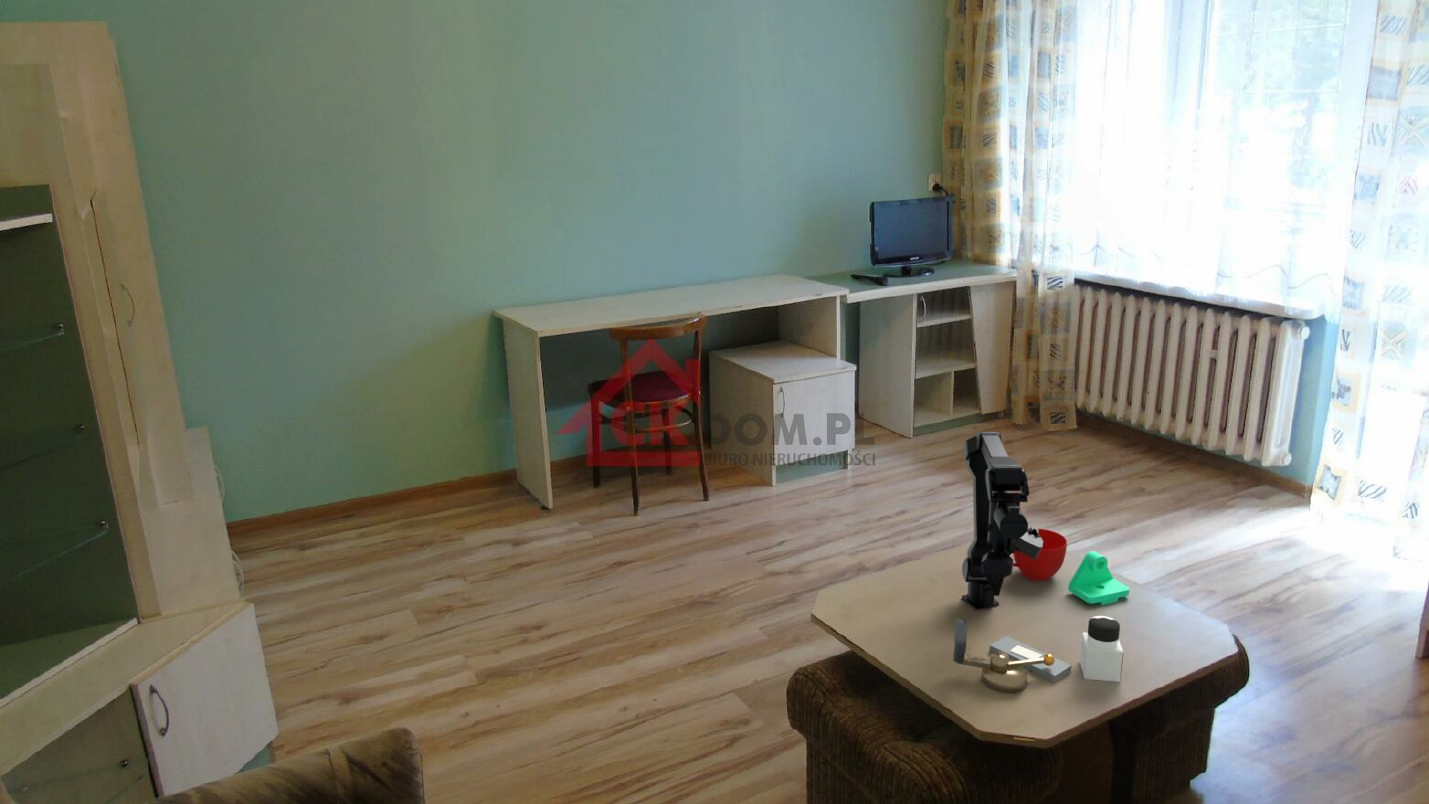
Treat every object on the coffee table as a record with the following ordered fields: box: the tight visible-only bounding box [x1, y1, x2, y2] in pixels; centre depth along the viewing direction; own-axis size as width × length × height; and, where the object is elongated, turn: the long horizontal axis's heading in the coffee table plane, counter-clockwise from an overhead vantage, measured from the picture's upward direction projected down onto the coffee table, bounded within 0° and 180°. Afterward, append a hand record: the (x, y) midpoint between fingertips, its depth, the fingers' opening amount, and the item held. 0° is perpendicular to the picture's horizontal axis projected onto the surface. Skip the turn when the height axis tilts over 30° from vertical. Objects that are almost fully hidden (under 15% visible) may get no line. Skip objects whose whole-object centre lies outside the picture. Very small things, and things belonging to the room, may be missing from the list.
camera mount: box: [1067, 550, 1130, 606], centre depth 238 cm, size 12×8×10 cm, turn 110°
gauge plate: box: [989, 635, 1072, 683], centre depth 212 cm, size 16×6×2 cm, turn 39°
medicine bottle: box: [1079, 615, 1124, 683], centre depth 206 cm, size 7×7×12 cm
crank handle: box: [953, 618, 1055, 693], centre depth 205 cm, size 20×12×12 cm, turn 68°
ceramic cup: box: [1012, 527, 1068, 582], centre depth 248 cm, size 13×17×10 cm
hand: (998, 586), depth 217 cm, fingers open, 9 cm apart
